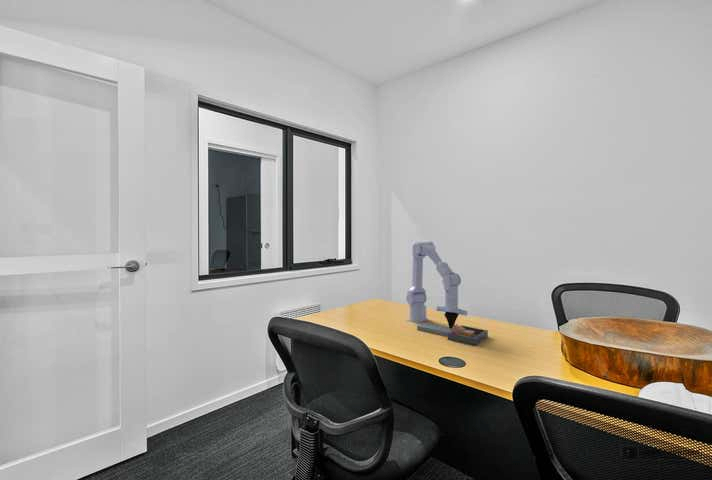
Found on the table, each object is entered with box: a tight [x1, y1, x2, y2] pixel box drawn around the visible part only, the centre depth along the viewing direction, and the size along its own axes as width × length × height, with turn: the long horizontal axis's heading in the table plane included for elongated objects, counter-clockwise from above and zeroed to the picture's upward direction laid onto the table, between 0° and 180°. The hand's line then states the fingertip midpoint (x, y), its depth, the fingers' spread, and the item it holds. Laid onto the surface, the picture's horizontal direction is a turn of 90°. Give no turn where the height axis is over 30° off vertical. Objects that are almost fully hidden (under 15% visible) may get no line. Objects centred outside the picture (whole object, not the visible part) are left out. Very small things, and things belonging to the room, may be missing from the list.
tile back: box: [451, 324, 465, 335], centre depth 153 cm, size 4×4×2 cm
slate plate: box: [416, 321, 456, 338], centre depth 160 cm, size 8×18×2 cm, turn 49°
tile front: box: [461, 330, 475, 338], centre depth 150 cm, size 4×4×2 cm
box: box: [447, 325, 489, 346], centre depth 150 cm, size 15×12×3 cm
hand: (451, 328), depth 155 cm, fingers closed
